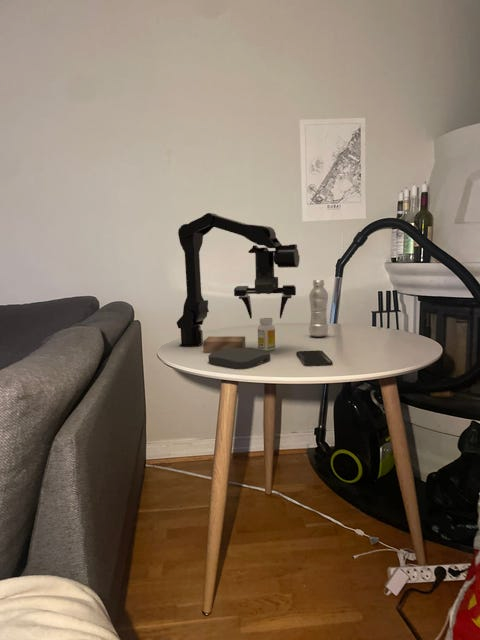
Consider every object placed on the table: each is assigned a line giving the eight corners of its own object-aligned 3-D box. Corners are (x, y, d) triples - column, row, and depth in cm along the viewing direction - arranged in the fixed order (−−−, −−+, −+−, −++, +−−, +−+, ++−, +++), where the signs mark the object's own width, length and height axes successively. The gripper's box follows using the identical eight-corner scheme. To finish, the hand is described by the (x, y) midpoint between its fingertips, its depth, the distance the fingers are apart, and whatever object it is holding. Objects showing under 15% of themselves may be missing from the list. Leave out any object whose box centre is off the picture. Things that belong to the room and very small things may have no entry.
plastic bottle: (306, 335, 155) (306, 280, 152) (324, 334, 156) (324, 279, 153) (312, 339, 149) (312, 281, 146) (331, 337, 150) (331, 280, 147)
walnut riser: (203, 353, 132) (203, 341, 132) (209, 347, 140) (208, 336, 140) (242, 353, 131) (242, 341, 130) (245, 347, 138) (245, 336, 138)
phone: (321, 350, 128) (333, 362, 113) (321, 354, 128) (333, 366, 113) (295, 351, 128) (303, 363, 113) (295, 354, 128) (303, 367, 113)
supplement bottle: (275, 347, 137) (274, 317, 136) (275, 350, 132) (274, 319, 131) (258, 347, 138) (257, 317, 137) (257, 351, 133) (256, 320, 131)
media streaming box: (202, 364, 120) (202, 353, 120) (236, 354, 131) (236, 344, 131) (243, 372, 111) (242, 360, 110) (275, 360, 122) (275, 350, 121)
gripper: (230, 269, 125) (232, 322, 127) (295, 268, 122) (295, 322, 125) (236, 268, 136) (237, 317, 138) (295, 266, 133) (295, 316, 135)
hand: (265, 318), depth 134 cm, fingers open, 9 cm apart
